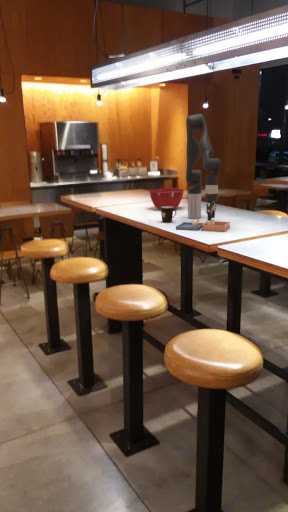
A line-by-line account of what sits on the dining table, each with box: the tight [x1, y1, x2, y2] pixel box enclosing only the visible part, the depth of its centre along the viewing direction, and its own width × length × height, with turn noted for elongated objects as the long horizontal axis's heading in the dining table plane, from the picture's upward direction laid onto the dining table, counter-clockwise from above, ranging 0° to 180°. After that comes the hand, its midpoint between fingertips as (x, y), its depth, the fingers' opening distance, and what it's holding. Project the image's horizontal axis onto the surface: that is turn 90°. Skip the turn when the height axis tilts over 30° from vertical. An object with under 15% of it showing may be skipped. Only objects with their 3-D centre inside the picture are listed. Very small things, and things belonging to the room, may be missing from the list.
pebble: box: [191, 218, 200, 227], centre depth 261 cm, size 4×4×4 cm
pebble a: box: [206, 219, 216, 225], centre depth 258 cm, size 4×4×4 cm
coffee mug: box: [160, 206, 177, 224], centre depth 282 cm, size 12×9×10 cm
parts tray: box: [175, 221, 205, 232], centre depth 263 cm, size 16×14×2 cm
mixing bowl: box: [148, 188, 185, 211], centre depth 338 cm, size 28×28×15 cm
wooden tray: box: [201, 220, 231, 233], centre depth 257 cm, size 14×14×4 cm
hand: (211, 219), depth 257 cm, fingers open, 8 cm apart
